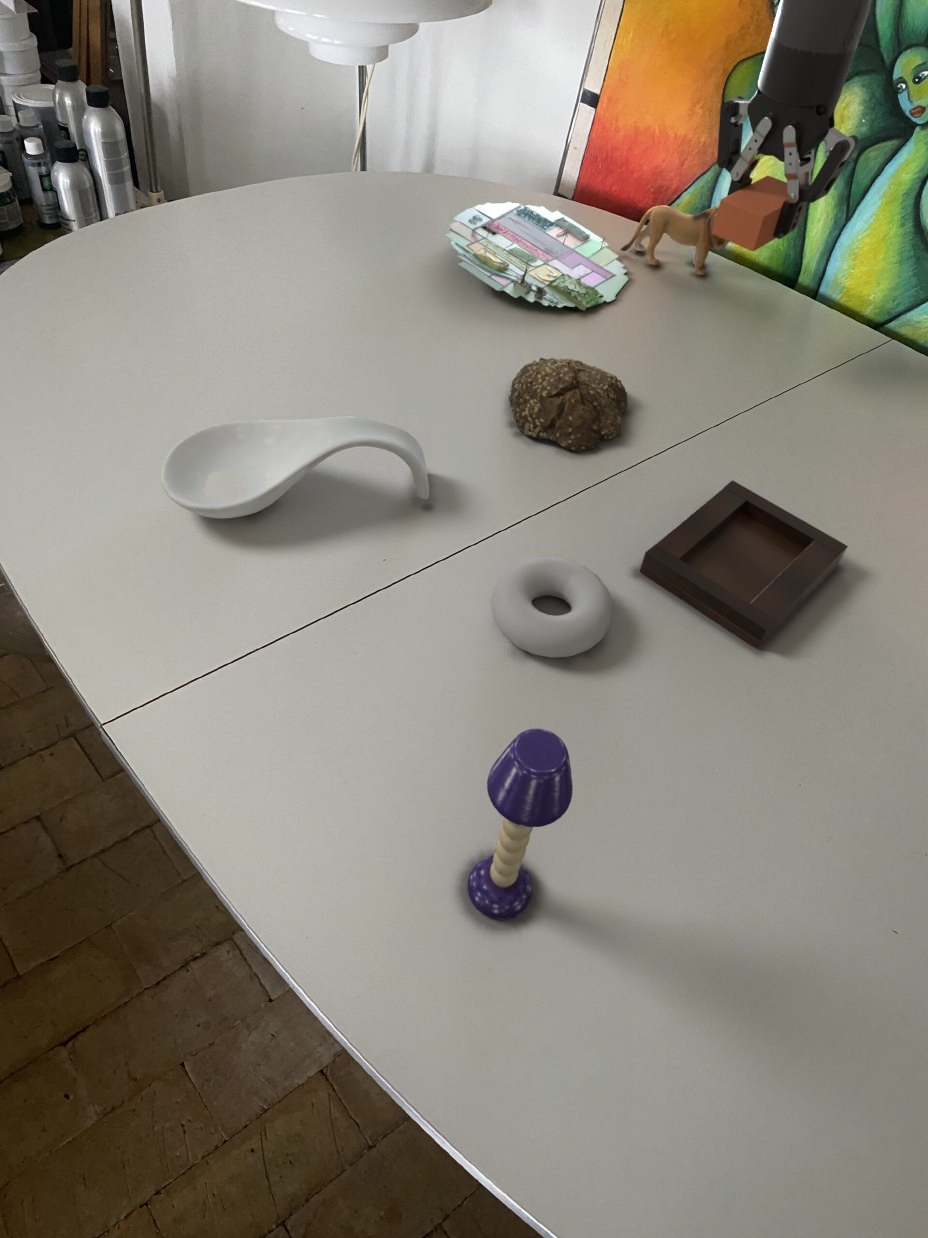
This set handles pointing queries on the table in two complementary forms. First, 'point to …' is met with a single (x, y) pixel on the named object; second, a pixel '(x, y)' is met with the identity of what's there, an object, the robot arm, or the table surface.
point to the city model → (536, 255)
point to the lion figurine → (679, 233)
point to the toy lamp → (520, 817)
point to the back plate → (743, 562)
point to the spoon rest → (274, 458)
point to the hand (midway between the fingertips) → (756, 225)
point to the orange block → (751, 213)
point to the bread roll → (567, 403)
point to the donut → (547, 630)
